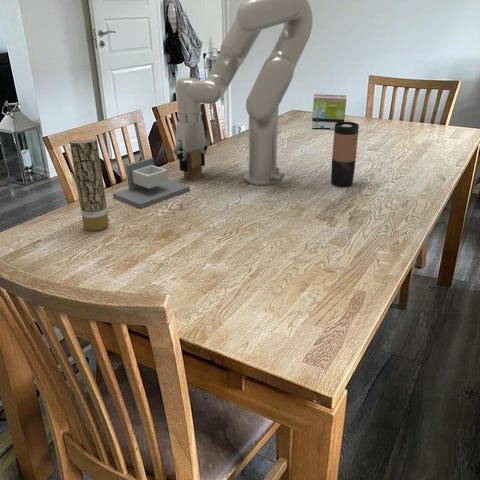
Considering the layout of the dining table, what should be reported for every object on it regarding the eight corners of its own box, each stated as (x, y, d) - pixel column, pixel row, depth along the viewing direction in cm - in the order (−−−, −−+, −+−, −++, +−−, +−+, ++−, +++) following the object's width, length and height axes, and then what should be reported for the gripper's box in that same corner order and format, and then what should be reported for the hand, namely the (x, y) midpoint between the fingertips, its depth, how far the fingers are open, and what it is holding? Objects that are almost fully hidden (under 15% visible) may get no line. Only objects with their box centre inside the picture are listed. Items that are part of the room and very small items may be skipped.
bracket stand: (189, 190, 161) (187, 161, 157) (140, 208, 148) (137, 177, 143) (161, 181, 170) (159, 153, 165) (113, 197, 156) (109, 167, 152)
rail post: (202, 177, 173) (200, 149, 169) (192, 180, 170) (191, 152, 166) (193, 174, 176) (191, 147, 172) (184, 177, 173) (182, 149, 169)
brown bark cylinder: (102, 232, 133) (89, 141, 122) (79, 231, 134) (63, 140, 123) (113, 222, 139) (101, 134, 128) (90, 220, 140) (77, 133, 129)
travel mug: (355, 181, 168) (361, 122, 159) (350, 189, 161) (356, 128, 152) (333, 178, 170) (338, 120, 162) (327, 185, 164) (331, 125, 155)
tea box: (311, 129, 233) (313, 97, 227) (312, 124, 242) (313, 93, 236) (343, 130, 231) (346, 98, 225) (343, 125, 240) (345, 94, 233)
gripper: (200, 111, 172) (202, 160, 180) (162, 120, 160) (166, 172, 168) (216, 114, 167) (217, 164, 175) (177, 123, 156) (181, 176, 164)
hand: (192, 167), depth 172 cm, fingers open, 7 cm apart
